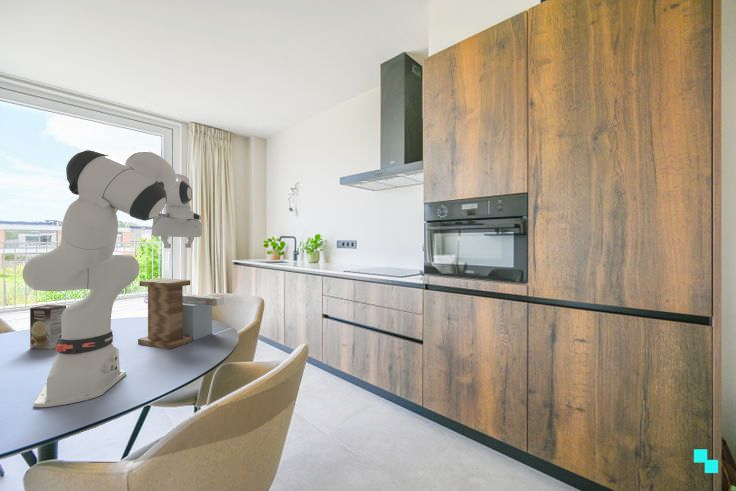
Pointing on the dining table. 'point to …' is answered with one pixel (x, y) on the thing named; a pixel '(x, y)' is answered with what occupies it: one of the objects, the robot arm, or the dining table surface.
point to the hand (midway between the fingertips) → (178, 248)
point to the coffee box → (45, 326)
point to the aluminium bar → (203, 299)
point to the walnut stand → (165, 313)
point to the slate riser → (197, 320)
